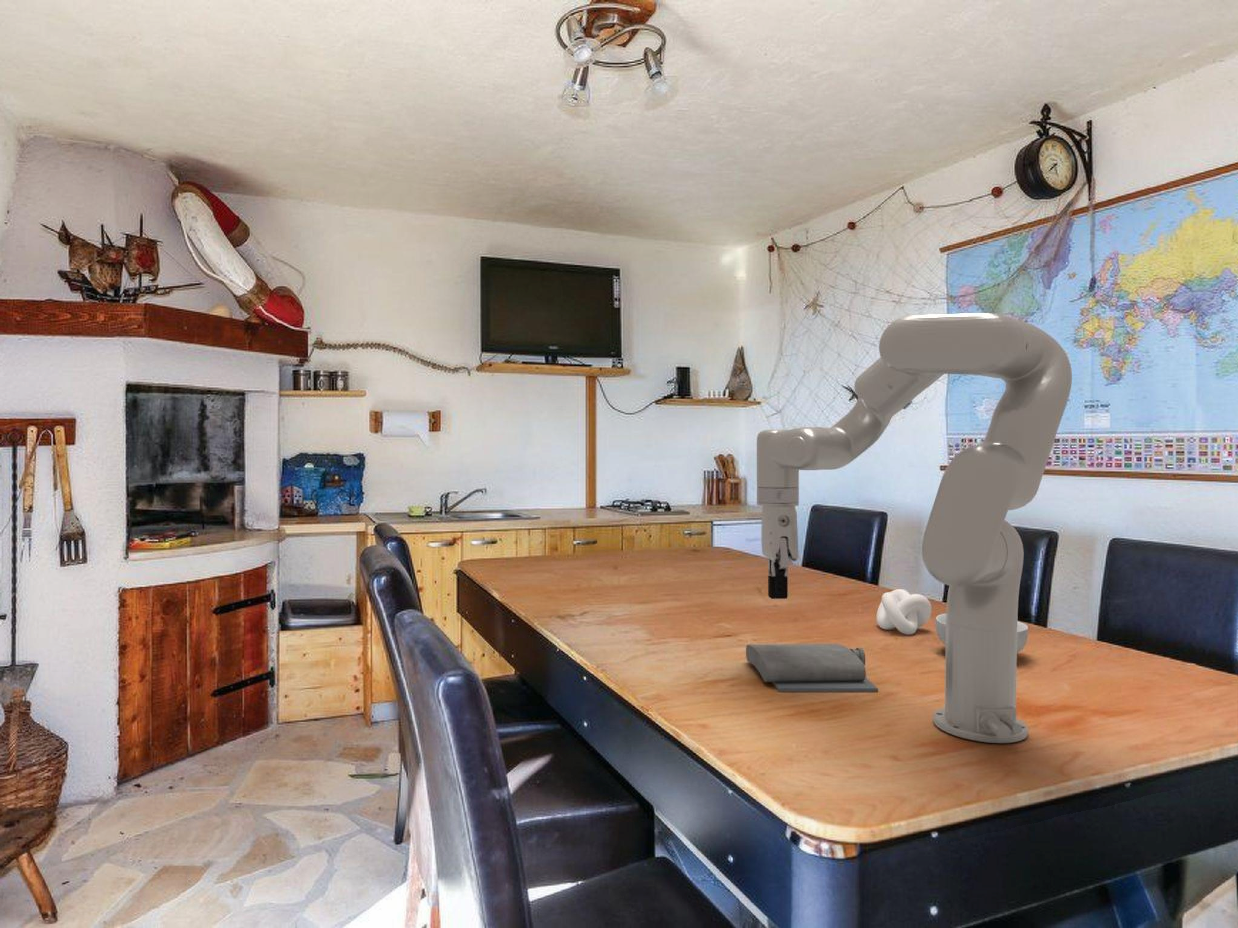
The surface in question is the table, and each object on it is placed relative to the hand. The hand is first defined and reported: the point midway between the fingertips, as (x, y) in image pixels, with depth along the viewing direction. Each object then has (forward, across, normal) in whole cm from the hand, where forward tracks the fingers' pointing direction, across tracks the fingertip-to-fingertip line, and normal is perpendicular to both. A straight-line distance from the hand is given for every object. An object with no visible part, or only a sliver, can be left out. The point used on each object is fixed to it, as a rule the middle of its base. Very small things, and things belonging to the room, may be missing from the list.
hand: (777, 597), depth 139 cm
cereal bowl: (+15, +14, -44) cm, 48 cm away
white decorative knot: (+14, +34, -37) cm, 53 cm away
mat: (+14, 0, -6) cm, 16 cm away
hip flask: (+12, 0, +4) cm, 12 cm away
